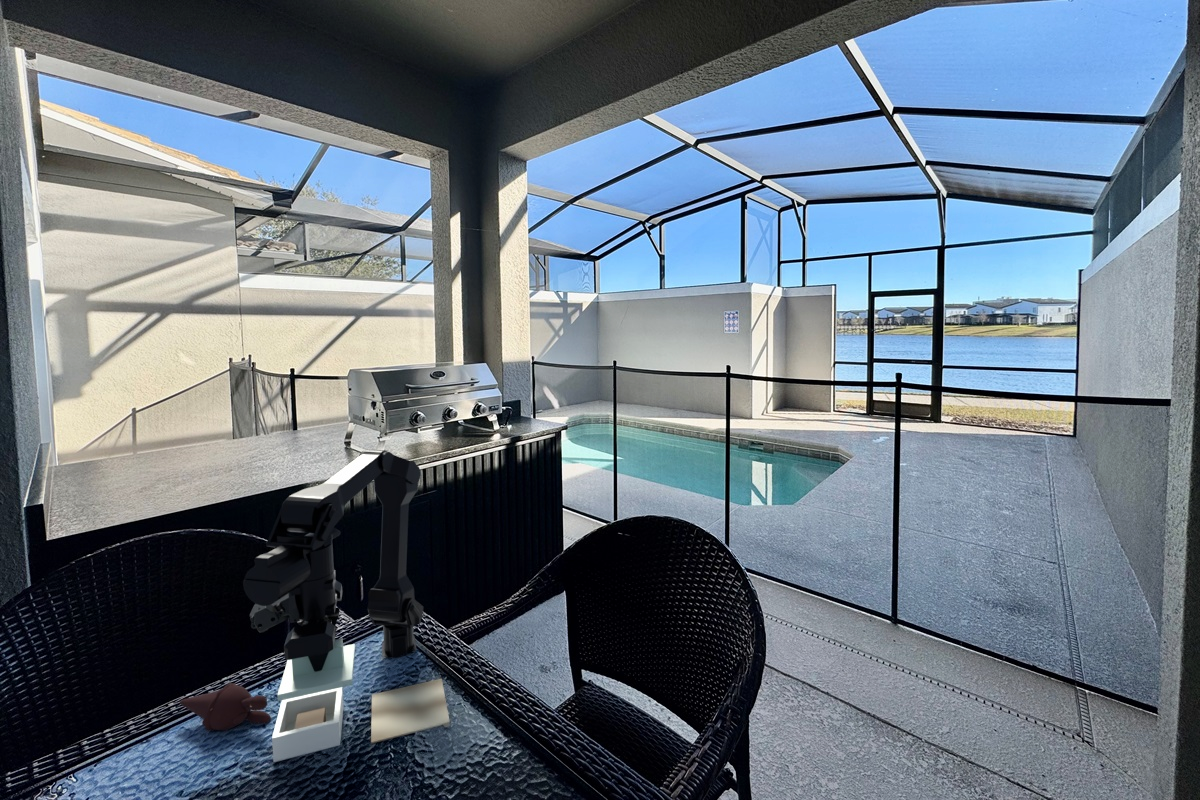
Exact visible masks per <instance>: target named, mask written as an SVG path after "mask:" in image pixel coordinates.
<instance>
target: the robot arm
mask: <svg viewBox="0 0 1200 800" xmlns="http://www.w3.org/2000/svg"><path fill="white" fill-rule="evenodd" d="M420 479H421V469H420V467H419V465H417V463H416V462H415V461H414V460H409V459H406V458H404V457H400V456H398V455H395V454H393V453H392V452H390V451H388V450H386V449H365V450H363V451H361V452H360V453H359V455H358V457H356V458H355V459H354V460H352V461H351V462H350V463H348V464H347V465H346V466H345V467H343V468H342V469H341V470H339V471H338V472H337V473H335V474H334V475H333V476H331V477H330V478H328V479H327V480H326V481H325V482H322V483H321V484H319V485H314V486H311V487H310V486H309V487H307V488H304V489H301V490H299V491H297V492H294V493H292V494H291V495H289V496H288V497H287V498H286V499H285V500H284V501H283V503H281V507H280V509H279V511H278V515H277V517H276V519H275V522H274V523H273V527H272V529H271V531H270V534H269V537H268V539H267V541H266V544H265V545H266V547H268V548H269V547H270V548H274V549H272V550H270V551H268V552H265V553H263V554H259V555H258V556H256V557H255V558H254V566H253V567H251V568H249V569H248V570H247V572H246V573H245V575H244V579H243V581H242V586H243V587H242V588H243V591H244V593H245V595H246V596H247V597H248V599H249V600H250V601H251V602H253V603H254V605H253V607H252V609H251V611H250V613H249V617H250V618H249V619H250V623H251V624H250V627H251V629H253V630H255V629H256V630H257V631H258V632H259V633H264V632H266V631H268V630H269V629H270V628H273V627H274V626H276V625H278V624H280V623H282V622H285V621H287V620H288V619H289V623H290V624H291V623H297V624H298V626H294V627H293V628H292V629H291V630H290V631H289V632H288V633H287V635H286V639H285V643H284V645H283V652H284V653H283V654H284V659H285V660H291V659H296V658H301V657H307V656H308V658H309V660H310V663H311V665H312V667H313V670H314V671H315V672H317V671H321V670H322V669H323V666H324V664H325V661H326V658H327V656H328V653H329V652H330V651H331V650H333V648H334V642H335V640H336V636H337V629H338V628H337V627H336V626H337V623H338V621H339V620H338V619H339V617H340V609H341V608H340V607H337V602H341V601H342V597H343V586H342V585H343V583H341V582H340V581H339V580H336V576H337V574H336V570H335V567H334V566H335V565H334V564H335V563H334V548H333V539H336V538H337V537H339V536H340V535H341V531H340V530H338V529H337V528H336V527H335V526H336V525H337V524H338V523H339V521H340V520H341V519H342V518H343V517H344V513H345V512H344V511H345V506H346V505H347V504H348V503H349V502H350V501H351V500H352V499H354V497H356V496H357V495H358V494H359V493H360V492H361V491H363V490H364V489H365V488H366V487H367V486H368V485H369V484H371V483H372V482H373V485H374V487H373V488H374V493H375V494H376V496H377V498H378V500H379V501H380V503H381V504H382V505H381V506H382V515H381V535H380V536H381V539H380V540H381V541H380V542H381V543H380V564H379V565H380V566H379V567H380V568H379V577H378V578H379V579H378V580H377V581H376V583H375V584H374V586H373V587H372V588H370V589H369V590H368V593H367V597H368V600H367V607H366V610H367V612H368V617H370V620H371V622H372V625H373V626H382V628H383V629H382V631H383V634H382V635H383V641H382V642H381V659H383V660H386V659H391V658H393V659H394V658H399V657H402V656H406V655H410V654H414V653H417V642H416V636H415V635H414V627H416V626H417V625H421V622H422V618H423V615H424V606H423V605H422V604H421V603H420V602H419V601H418V600H416V598H415V588H414V585H413V584H412V581H411V580H410V578H409V576H408V575H407V564H408V563H407V560H408V559H407V558H408V557H407V556H408V538H409V537H408V533H409V531H408V529H409V510H410V507H409V506H410V503H411V501H412V499H413V498H414V496H415V495H416V493H417V492H418V488H419V482H420ZM288 532H290V533H304V534H305V533H306V534H305V535H297V534H287V533H288Z"/></svg>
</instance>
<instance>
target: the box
mask: <svg viewBox="0 0 1200 800" xmlns="http://www.w3.org/2000/svg"><path fill="white" fill-rule="evenodd" d="M321 708H325V714H326V722H323V723H319V724H315V725H311V726H307V727H303V728H299V729H295V724H296V719H297V714H299V713H303V712H308V711H312V710H316V709H321ZM343 717H344V693H343V687H340V688H336V689H331V690H327V691H322V692H317V693H313V694H308V695H304V696H299V697H294V698H290V699H285V700H281V701H280V707H279V710H278V714H277V717H276V722H275V725H274V730H273V733H272V736H271V737H272V738H271V746H272V758H273V761H272V762H273V763H277V762H280V761H284V760H288V759H293V758H296V757H299V756H304V755H307V754H311V753H315V752H319V751H323V750H327V749H331V748H335V747H339V746H341V740H342V728H343V719H344V718H343Z"/></svg>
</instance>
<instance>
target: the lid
mask: <svg viewBox="0 0 1200 800" xmlns="http://www.w3.org/2000/svg"><path fill="white" fill-rule="evenodd" d="M343 641H344V640H343V638H338V639H335V642H334V648H333V650H331V651H330V652H329V653H328V656H327V658H326V661H325V664H324V666H323V669H322V670H321V671H317V672H315V671H314V670H313V667H312V665H311V663H310V660H309V658H308V656H307V657H301V658H296V659H291V660H287V659H286V660H287V661H286V664H285V669H284V671H283V675H282V678H281V681H280V685H279V687H278V691H277V701H278V702H279V701H280V702H282V700H285V699H290V698H294V697H299V696H304V695H308V694H313V693H317V692H322V691H327V690H331V689H336V688H340V687H342V688H344V687H349V686H353V678H354V677H353V676H354V668H355V667H354V666H355V659H356V658H355V657H356V656H355V655H356V643H353V644H347V645H344V642H343Z"/></svg>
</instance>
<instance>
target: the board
mask: <svg viewBox="0 0 1200 800" xmlns="http://www.w3.org/2000/svg"><path fill="white" fill-rule="evenodd" d="M446 700H447V699H446V695H445V689H444V683H443V678H438V679H434V680H429V681H425V682H421V683H417V684H411V685H407V686H403V687H398V688H395V689H389V690H385V691H382V692H377V693H373V694H371V722H370V724H371V725H370V727H371V728H370V729H371V730H370V732H371V733H370V735H371V736H370V744H371V745H372V744H376V743H379V742H383V741H387V740H391V739H394V738H398V737H403V736H406V735H410V734H414V733H418V732H421V731H425V730H428V729H429V730H430V729H434V728H436V727H440V726H443V728H447V727H448V728H449V727H450V726H451V725H450V724H451V723H450V718H449V711H448V706H447V701H446Z"/></svg>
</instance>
